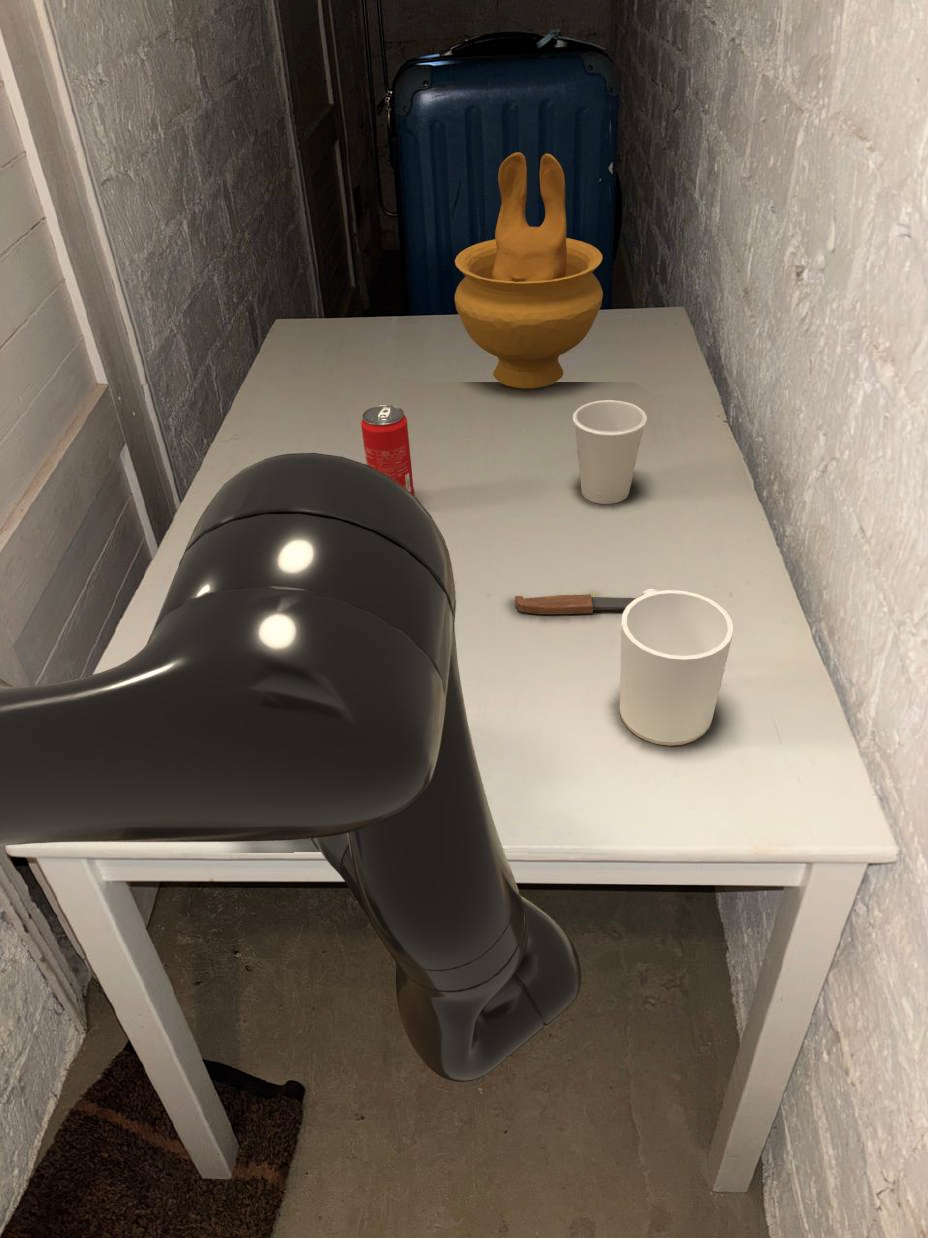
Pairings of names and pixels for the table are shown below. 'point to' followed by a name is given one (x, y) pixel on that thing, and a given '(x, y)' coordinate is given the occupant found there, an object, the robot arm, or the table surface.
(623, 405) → the dixie cup
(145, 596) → the table surface
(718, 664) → the mug
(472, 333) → the decorative bowl
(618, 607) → the knife
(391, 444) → the beverage can
